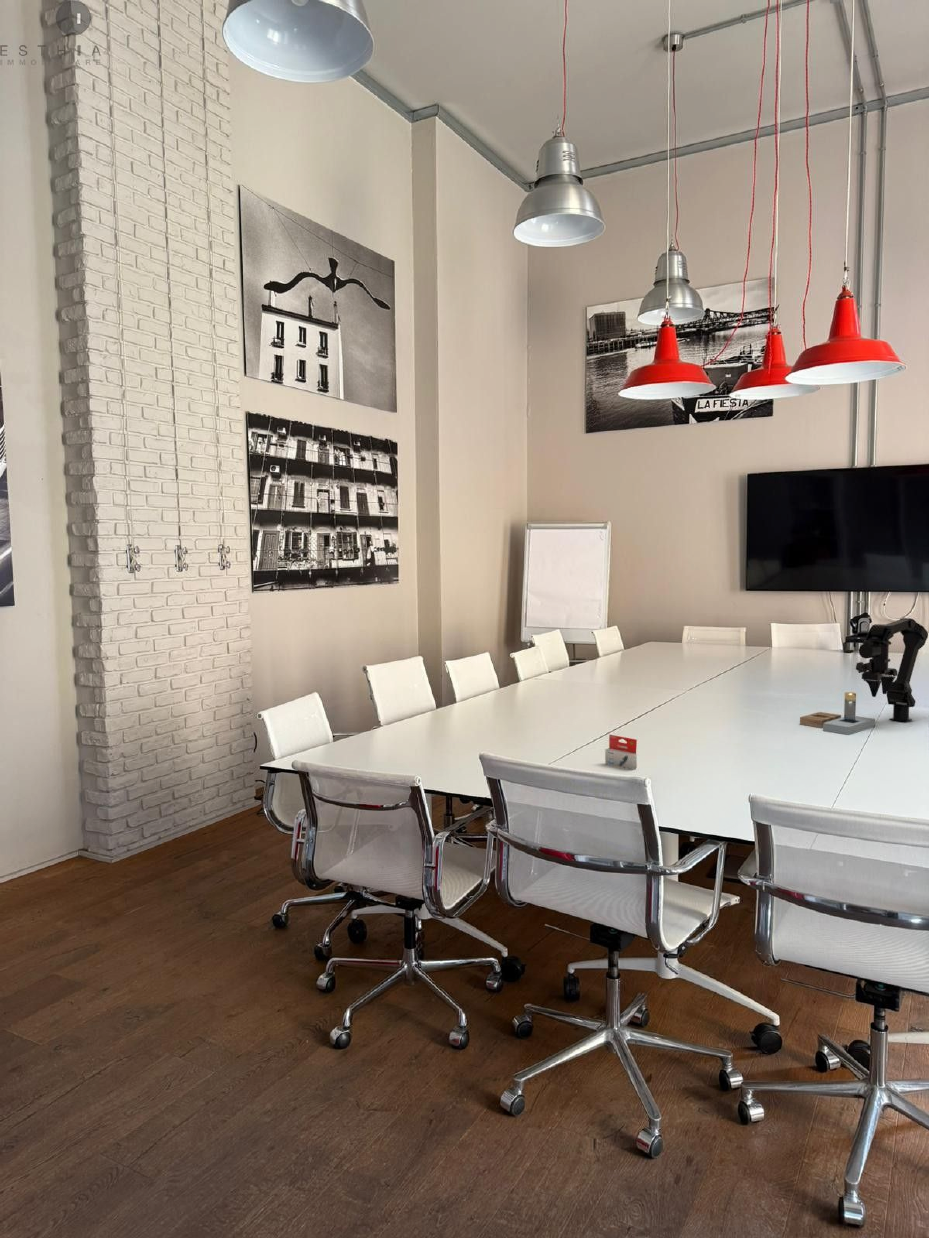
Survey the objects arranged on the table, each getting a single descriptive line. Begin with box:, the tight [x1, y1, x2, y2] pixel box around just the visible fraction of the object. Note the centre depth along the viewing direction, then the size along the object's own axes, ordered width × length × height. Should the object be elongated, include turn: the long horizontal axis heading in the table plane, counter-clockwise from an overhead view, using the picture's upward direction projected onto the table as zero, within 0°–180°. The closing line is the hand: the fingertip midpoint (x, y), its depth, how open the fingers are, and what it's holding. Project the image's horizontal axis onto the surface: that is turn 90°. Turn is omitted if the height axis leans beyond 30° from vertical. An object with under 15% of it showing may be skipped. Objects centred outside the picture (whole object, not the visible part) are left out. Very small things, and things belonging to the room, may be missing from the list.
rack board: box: [822, 715, 876, 736], centre depth 321 cm, size 22×10×3 cm, turn 130°
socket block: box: [799, 711, 842, 729], centre depth 330 cm, size 16×9×3 cm, turn 130°
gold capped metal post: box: [843, 691, 857, 723], centre depth 320 cm, size 4×4×14 cm
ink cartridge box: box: [604, 734, 638, 771], centre depth 269 cm, size 2×11×10 cm, turn 44°
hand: (879, 695), depth 325 cm, fingers open, 9 cm apart
